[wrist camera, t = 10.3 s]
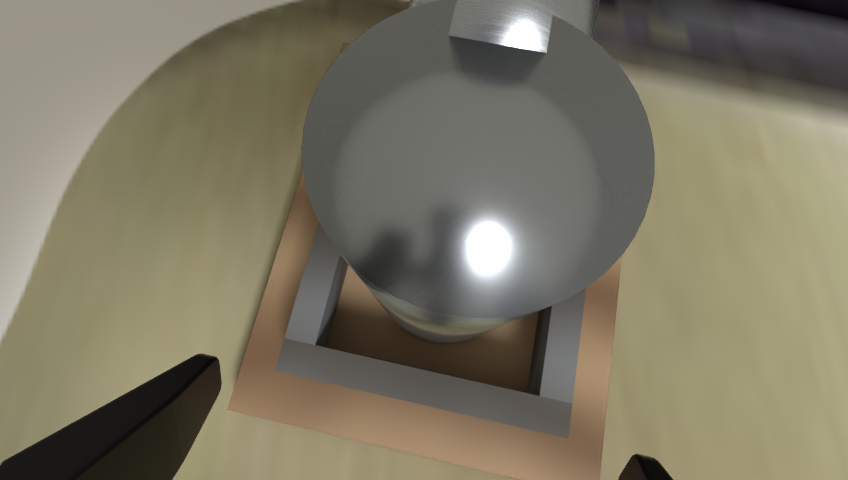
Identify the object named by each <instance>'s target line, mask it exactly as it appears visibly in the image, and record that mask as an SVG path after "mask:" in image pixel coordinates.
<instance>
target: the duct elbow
mask: <svg viewBox="0 0 848 480" xmlns="http://www.w3.org/2000/svg"><path fill="white" fill-rule="evenodd" d="M599 1H600V0H410V2H409V6H408V9H406V10H403V11H401V12H399V13H397V14H394V15H392V16H390V17H388V18H386V19H384V20H382V21H381V22H379V23H377V24H376V25H374V26H372V27H371V28H369V29H368V30H366V31H365V32H364V33H363V34H361V35H360V36H359V37H358V38H356V39H355V40H354V41H352V42H351V43H350V44H349V45H348V46H347V48H346V49H345V50H344V51H343V52H342V53H341V54H340V55H339V56H338V57H337V58H336V59H335V61H334V62H333V63H332V65H331V66H330V67H329V69H328V70H327V71H326V73H325V75H324V76H323V78H322V80H321V82H320V83H319V85H318V87H317V89H316V91H315V93H314V96H313V98H312V101H311V103H310V106H309V108H308V112H307V117H306V121H305V125H304V130H303V140H302V168H303V174H304V180H305V185H306V190H307V193H308V196H309V199H310V202H311V205H312V208H313V211H314V213H315V215H316V217H317V219H318V221H319V223H320V225H321V227H322V228H323V230H324V232H325V234H326V235H327V236H328V238H329V239H330V241H331V242H332V243H333V245H334V246H335V248H336V249H337V251H338V252H339V253H340V254H341V256H342V257H343V258H344V259H345V261H346V262H347V263H348V264H349V266H350V267H351V268H352V269H353V271H354V272H355V273H356V274H357V275H358V277H359V278H360V279H361V280H362V282H363V283H364V284H365V285H366V287H367V288H368V289H369V290H370V292H371V293H372V294H373V295H374V297H375V298H376V299H377V300H378V302H379V303H380V304H381V305H382V307H383V308H384V309H385V310H386V312H387V313H388V314H389V315H390V317H391V318H392V319H393V320H394V321H395V322H396V323H397V324H398V325H399V326H400V327H401V328H402V329H404V330H405V331H406V332H408V333H410V334H411V335H413V336H415V337H417V338H420V339H422V340H425V341H429V342H433V343H441V344H450V343H459V342H462V341H466V340H469V339H472V338H474V337H477V336H479V335H481V334H484V333H486V332H489V331H491V330H493V329H496V328H498V327H501V326H503V325H506V324H508V323H510V322H513V321H515V320H518V319H520V318H523V317H525V316H527V315H530V314H532V313H535V312H537V311H540V310H542V309H544V308H547V307H549V306H552V305H554V304H556V303H559V302H561V301H564V300H566V299H568V298H570V297H571V296H573V295H575V294H576V293H578V292H580V291H582V290H583V289H585V288H587V287H588V286H589V285H591V284H592V283H593V282H594V281H596V280H597V279H598V278H600V277H601V276H602V275H603V274H605V273H606V272H607V271H608V270H609V269H610V268H611V266H612V265H613V264H614V263H615V262H616V261H617V260H618V259H619V258H620V257H621V256H622V254H623V253H624V252H625V250H626V249H627V247H628V246H629V244H630V243H631V241H632V240H633V239H634V237H635V235H636V233H637V231H638V229H639V227H640V225H641V223H642V221H643V219H644V217H645V213H646V210H647V207H648V204H649V201H650V198H651V193H652V186H653V180H654V147H653V139H652V133H651V129H650V125H649V122H648V118H647V115H646V112H645V110H644V107H643V105H642V103H641V100H640V98H639V96H638V94H637V92H636V90H635V89H634V87H633V85H632V84H631V82H630V80H629V79H628V77H627V75H626V74H625V73H624V72H623V70H622V69H621V68H620V66H619V65H618V64H617V63H616V61H615V60H614V59H613V58H612V57H611V56H610V55H609V54H608V53H607V52H606V51H605V50H604V49H603V48H602V47H601V46H600V45H599V44H598V43H596V42H595V41H594V38H595V31H596V23H597V16H598V8H599Z"/></svg>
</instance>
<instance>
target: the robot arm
mask: <svg viewBox="0 0 848 480" xmlns="http://www.w3.org/2000/svg"><path fill="white" fill-rule="evenodd" d="M221 384H222V382H221V373H220V364H219V360H218V358H217V357H215V356H210V355H206V354H197V355H195V356H193V357H191V358H189V359H187V360H186V361H184V362H182V363H180V364H178V365H177V366H175V367H173V368H171V369H169V370H167V371H166V372H164V373H162V374H160V375H158V376H157V377H155V378H153V379H151V380H149V381H148V382H146V383H144V384H142V385H140V386H138V387H137V388H135V389H133V390H131V391H129V392H128V393H126V394H124V395H122V396H120V397H119V398H117V399H115V400H113V401H111V402H110V403H108V404H106V405H104V406H102V407H100V408H99V409H97V410H95V411H93V412H91V413H90V414H88V415H86V416H84V417H82V418H81V419H79V420H77V421H75V422H73V423H71V424H70V425H68V426H66V427H64V428H62V429H61V430H59V431H57V432H55V433H53V434H52V435H50V436H48V437H46V438H44V439H42V440H41V441H39V442H37V443H35V444H33V445H32V446H30V447H28V448H26V449H24V450H23V451H21V452H19V453H17V454H15V455H14V456H12V457H10V458H8V459H6V460H4V461H3V462H2V463H1V465H0V480H172V479H173V477H174V476H175V474H176V473H177V471H178V470H179V468H180V466H181V465H182V463H183V462H184V460H185V458H186V456H187V454H188V452H189V451H190V449H191V447H192V445H193V443H194V441H195V439H196V437H197V435H198V433H199V431H200V429H201V428H202V426H203V424H204V422H205V420H206V418H207V416H208V414H209V412H210V410H211V408H212V406H213V404H214V402H215V400H216V399H217V397H218V395H219V392H220V389H221ZM618 480H673V479H672V477H671V476H670V475H669V474H668V472H667V471H666V470H665V469H664V467H663V466H662V465H661V464H660V463H659V461H657V460H656V459H655V458H652V457H649V456H644V455H640V454H635V455H633V456H632V457H631V458H630V460H629V462H628V463H627V465H626V466H625V468H624V470H623V471H622V473H621V474H620V476H619V479H618Z"/></svg>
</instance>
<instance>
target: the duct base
mask: <svg viewBox="0 0 848 480" xmlns="http://www.w3.org/2000/svg"><path fill="white" fill-rule="evenodd" d="M348 45H349V44H346V43H343V45H342V48H341V52H340V54H341V53H342V52H343V51H344V50H345V49H346V48H347V46H348ZM621 258H622V256H621V257H620V258H619V259H618V260H617V261H616V262H615V263H614V264H613V265H612V266H611V268H610V269H609V270H608V271H607V272H606V273H605V274H603V275H602V276H601V277H600V278H598V279H597V280H596V281H594V282H593V283H592V284H591V285H589V286H588V287H587V288H585V289H583V290H582V291H580V292H578V293H576V294H575V295H573V296H571V297H570V298H568V299H566V300H564V301H561V302H559V303H556V304H554V305H552V306H549V307H547V308H544V309H542V310H540V311H537V312H535V313H532V314H530V315H527V316H525V317H523V318H520V319H518V320H515V321H513V322H510V323H508V324H506V325H503V326H501V327H498V328H496V329H493V330H491V331H489V332H486V333H484V334H481V335H479V336H477V337H474V338H472V339H469V340H466V341H462V342H459V343H450V344H441V343H433V342H429V341H425V340H422V339H420V338H417V337H415V336H413V335H411V334H410V333H408V332H406V331H405V330H404V329H402V328H401V327H400V326H399V325H398V324H397V323H396V322H395V321H394V320H393V319H392V318H391V317H390V315H389V314H388V313H387V312H386V310H385V309H384V308H383V307H382V305H381V304H380V303H379V302H378V300H377V299H376V298H375V297H374V295H373V294H372V293H371V292H370V290H369V289H368V288H367V287H366V285H365V284H364V283H363V282H362V280H361V279H360V278H359V277H358V275H357V274H356V273H355V272H354V271H353V269H352V268H351V267H350V266H349V264H348V263H347V262H346V261H345V259H344V258H343V257H342V256H341V254H340V253H339V252H338V251H337V249H336V248H335V246H334V245H333V243H332V242H331V241H330V239H329V238H328V236H327V235H326V234H325V232H324V230H323V228H322V227H321V225H320V223H319V221H318V219H317V217H316V215H315V213H314V211H313V208H312V205H311V202H310V199H309V196H308V193H307V190H306V185H305V180H304V174H303V172H302V175H301V178H300V181H299V185H298V188H297V191H296V194H295V197H294V200H293V204H292V207H291V210H290V213H289V216H288V219H287V222H286V226H285V229H284V232H283V235H282V238H281V241H280V245H279V248H278V251H277V254H276V257H275V260H274V264H273V267H272V270H271V273H270V276H269V279H268V283H267V286H266V289H265V292H264V295H263V298H262V302H261V305H260V308H259V311H258V314H257V317H256V321H255V324H254V327H253V330H252V333H251V336H250V340H249V343H248V346H247V349H246V352H245V355H244V359H243V362H242V365H241V368H240V371H239V374H238V378H237V381H236V384H235V387H234V390H233V393H232V397H231V400H230V403H229V406H228V409H227V410H231V411H235V412H239V413H243V414H247V415H252V416H256V417H260V418H264V419H268V420H273V421H277V422H281V423H285V424H289V425H294V426H298V427H302V428H306V429H310V430H315V431H319V432H323V433H327V434H331V435H336V436H340V437H344V438H348V439H352V440H357V441H361V442H365V443H369V444H373V445H378V446H382V447H386V448H390V449H394V450H399V451H403V452H407V453H411V454H415V455H419V456H424V457H428V458H432V459H436V460H440V461H445V462H449V463H453V464H457V465H461V466H466V467H470V468H474V469H478V470H482V471H487V472H491V473H495V474H499V475H503V476H508V477H512V478H516V479H520V480H600V470H601V460H602V450H603V440H604V430H605V420H606V409H607V399H608V389H609V379H610V369H611V359H612V349H613V339H614V329H615V319H616V309H617V298H618V288H619V278H620V268H621Z"/></svg>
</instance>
